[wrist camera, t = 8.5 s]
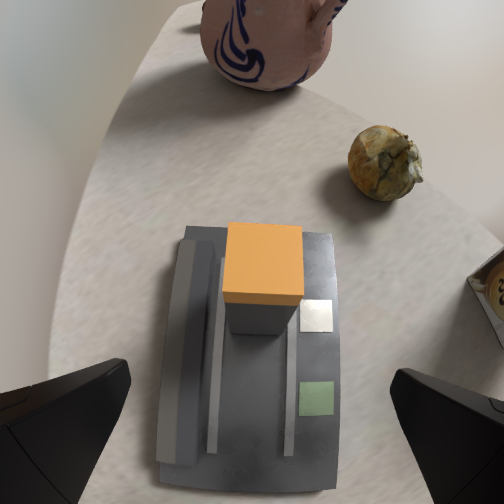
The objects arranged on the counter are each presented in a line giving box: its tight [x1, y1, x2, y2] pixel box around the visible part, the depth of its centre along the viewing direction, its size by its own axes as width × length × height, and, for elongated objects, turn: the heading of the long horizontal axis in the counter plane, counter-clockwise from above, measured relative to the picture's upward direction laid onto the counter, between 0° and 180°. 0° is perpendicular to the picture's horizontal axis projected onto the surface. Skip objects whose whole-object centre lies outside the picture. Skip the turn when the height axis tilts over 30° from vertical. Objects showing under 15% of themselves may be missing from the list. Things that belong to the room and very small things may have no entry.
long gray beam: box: [156, 240, 214, 467], centre depth 19 cm, size 16×2×1 cm, turn 177°
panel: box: [159, 226, 340, 493], centre depth 20 cm, size 20×12×2 cm, turn 177°
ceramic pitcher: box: [200, 0, 348, 91], centre depth 27 cm, size 18×21×25 cm
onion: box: [348, 125, 423, 201], centre depth 26 cm, size 8×8×8 cm
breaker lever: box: [222, 222, 304, 336], centre depth 17 cm, size 4×4×8 cm
